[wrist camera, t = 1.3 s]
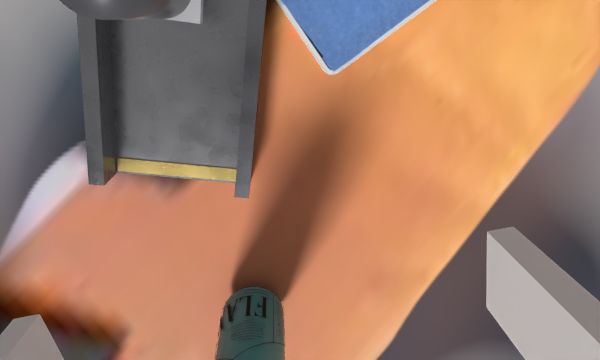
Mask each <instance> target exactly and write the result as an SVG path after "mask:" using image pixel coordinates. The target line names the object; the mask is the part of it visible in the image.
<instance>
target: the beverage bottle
mask: <svg viewBox="0 0 600 360" xmlns="http://www.w3.org/2000/svg"><path fill="white" fill-rule="evenodd" d="M226 302H227V303H226V304H225V307H224V308H223V309H224V311H223V310H222V311H223V316H222V315H221V316H222V317H221V319H220V326H219V332H220V336H218V337H219V342H217V343H218V349H217V350H216V351H217V356H216V357H215V358H216V360H285V356H284V354H285V350H284V346H285V345H284V336H285V330H284V320H283V308H284V307H283V308H282V305H281V303H280V300H279V299H278V297H277V296H276V295H275V294H274V293H272V292H271V291H269V290H267V289H264V288H261V287H247V288H243V289H240V290H238V291H237V292H235V293H234V294H233V295H232V296H231V297H230V298H229V299H228V301H226ZM221 314H222V313H221ZM220 329H221V330H220ZM219 332H218V334H219ZM216 345H217V344H216ZM216 347H217V346H216Z"/></svg>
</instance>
